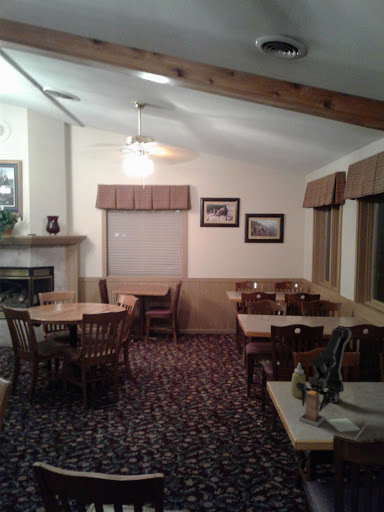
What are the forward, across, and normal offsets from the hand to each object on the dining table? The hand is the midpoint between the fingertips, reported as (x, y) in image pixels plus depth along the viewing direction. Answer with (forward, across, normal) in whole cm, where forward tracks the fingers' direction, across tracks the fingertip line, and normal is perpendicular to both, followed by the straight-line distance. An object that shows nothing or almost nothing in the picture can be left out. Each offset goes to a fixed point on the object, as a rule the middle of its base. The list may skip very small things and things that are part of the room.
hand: (311, 408), depth 177 cm
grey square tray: (+4, 0, +6) cm, 7 cm away
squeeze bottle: (-12, -16, +22) cm, 29 cm away
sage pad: (0, +13, +9) cm, 16 cm away
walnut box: (+3, 0, +5) cm, 6 cm away
